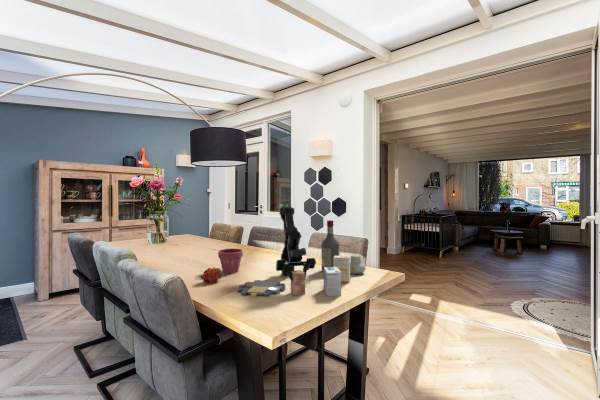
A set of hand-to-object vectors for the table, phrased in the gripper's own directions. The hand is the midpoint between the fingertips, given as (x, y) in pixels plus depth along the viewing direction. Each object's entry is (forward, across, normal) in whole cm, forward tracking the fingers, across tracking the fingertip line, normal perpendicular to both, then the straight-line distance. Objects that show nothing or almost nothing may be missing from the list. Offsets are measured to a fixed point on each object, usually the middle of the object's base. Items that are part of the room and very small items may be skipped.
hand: (298, 280), depth 143 cm
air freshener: (-15, +40, +25) cm, 49 cm away
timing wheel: (-4, -16, +13) cm, 21 cm away
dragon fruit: (-16, -41, +26) cm, 51 cm away
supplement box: (-6, +26, +16) cm, 31 cm away
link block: (+4, 0, +6) cm, 7 cm away
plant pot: (-30, -31, +40) cm, 59 cm away
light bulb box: (+5, +16, +4) cm, 17 cm away
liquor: (-20, +26, +30) cm, 45 cm away
